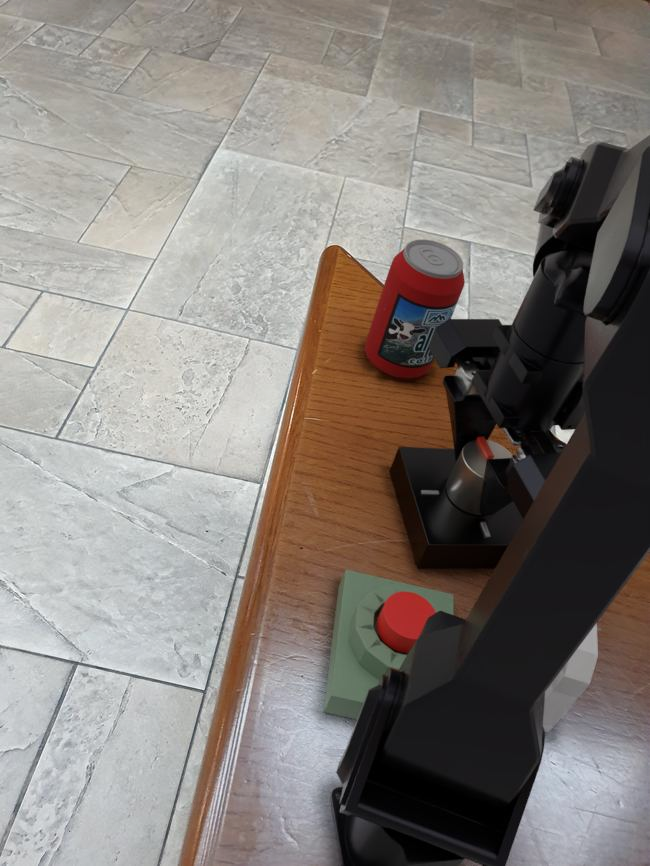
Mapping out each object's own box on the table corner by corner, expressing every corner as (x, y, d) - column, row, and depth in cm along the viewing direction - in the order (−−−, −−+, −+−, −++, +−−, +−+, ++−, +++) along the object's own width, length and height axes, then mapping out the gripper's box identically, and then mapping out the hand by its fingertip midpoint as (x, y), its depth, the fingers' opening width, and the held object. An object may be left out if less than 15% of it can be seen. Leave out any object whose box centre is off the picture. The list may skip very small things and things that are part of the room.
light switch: (524, 725, 57) (572, 664, 52) (528, 585, 66) (570, 521, 61) (548, 733, 57) (600, 673, 52) (549, 592, 66) (593, 529, 61)
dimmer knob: (507, 514, 67) (528, 477, 64) (457, 517, 65) (476, 479, 62) (486, 472, 70) (505, 435, 67) (437, 474, 68) (455, 436, 65)
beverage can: (385, 389, 79) (424, 283, 71) (349, 344, 83) (382, 238, 75) (442, 377, 82) (486, 274, 74) (405, 334, 86) (443, 231, 78)
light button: (428, 659, 55) (437, 644, 54) (374, 646, 55) (381, 631, 54) (429, 612, 58) (437, 598, 56) (378, 600, 57) (385, 585, 56)
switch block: (443, 739, 55) (463, 709, 53) (323, 712, 55) (337, 681, 52) (444, 611, 63) (462, 579, 60) (338, 586, 62) (351, 553, 59)
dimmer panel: (534, 568, 68) (550, 544, 65) (416, 568, 65) (429, 543, 63) (497, 474, 74) (510, 449, 72) (388, 471, 72) (399, 444, 70)
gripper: (730, 430, 53) (616, 577, 64) (587, 257, 66) (512, 405, 76) (582, 438, 50) (487, 593, 60) (459, 253, 62) (399, 409, 72)
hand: (474, 490), depth 67 cm, fingers closed on dimmer knob, 4 cm apart
